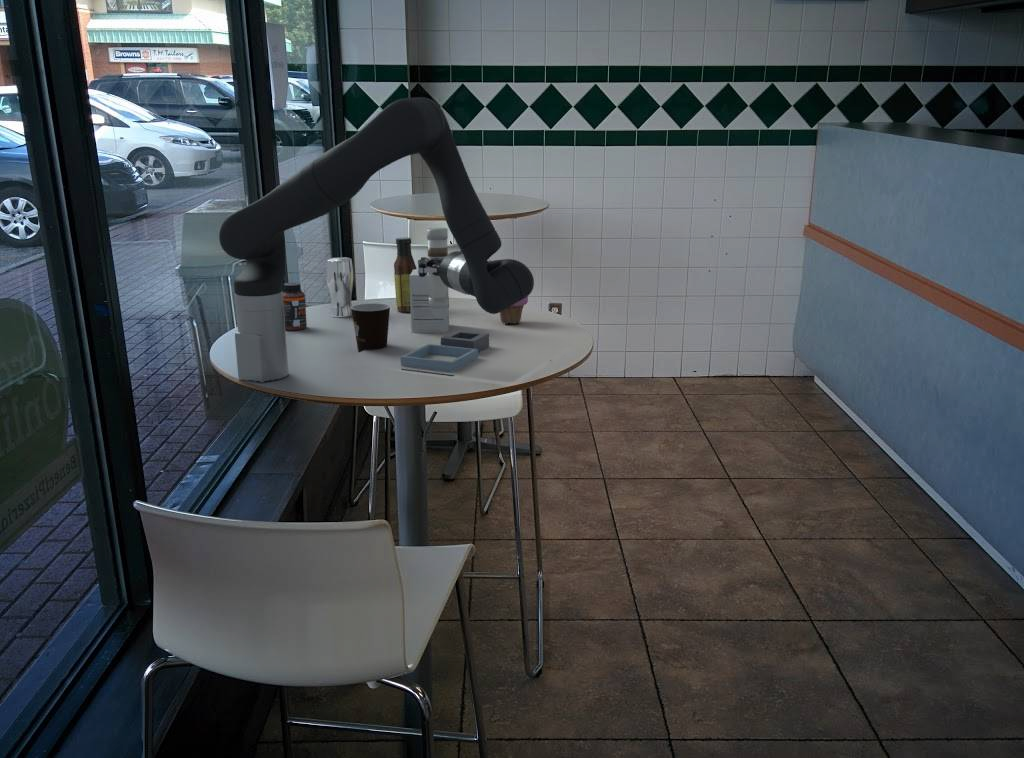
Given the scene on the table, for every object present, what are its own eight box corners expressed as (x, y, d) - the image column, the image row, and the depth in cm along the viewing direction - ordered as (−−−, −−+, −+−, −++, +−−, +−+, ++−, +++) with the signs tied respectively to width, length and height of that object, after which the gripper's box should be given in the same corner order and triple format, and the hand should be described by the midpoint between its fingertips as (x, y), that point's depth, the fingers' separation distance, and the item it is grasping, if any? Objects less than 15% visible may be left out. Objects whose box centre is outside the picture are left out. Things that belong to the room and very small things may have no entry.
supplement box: (414, 328, 223) (412, 268, 219) (449, 328, 223) (448, 268, 219) (410, 336, 214) (408, 274, 210) (447, 336, 214) (446, 274, 210)
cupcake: (526, 319, 233) (527, 281, 230) (528, 327, 224) (528, 287, 222) (492, 320, 232) (492, 282, 230) (493, 327, 224) (493, 288, 221)
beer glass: (329, 312, 241) (326, 257, 237) (355, 312, 241) (353, 257, 237) (327, 318, 234) (324, 261, 230) (354, 317, 235) (351, 261, 231)
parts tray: (452, 376, 181) (452, 362, 180) (401, 370, 185) (400, 356, 185) (478, 362, 191) (477, 349, 191) (428, 356, 196) (428, 343, 195)
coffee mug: (390, 355, 197) (388, 310, 195) (351, 355, 197) (348, 311, 194) (393, 342, 208) (391, 300, 206) (356, 343, 208) (354, 300, 205)
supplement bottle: (303, 331, 220) (300, 285, 216) (279, 331, 220) (276, 285, 217) (309, 325, 225) (306, 281, 222) (286, 325, 225) (283, 281, 222)
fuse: (443, 309, 182) (441, 230, 178) (425, 307, 184) (423, 229, 180) (452, 305, 186) (451, 228, 182) (434, 304, 188) (433, 227, 183)
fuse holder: (478, 359, 193) (478, 341, 192) (436, 354, 197) (435, 337, 196) (494, 351, 201) (493, 334, 199) (452, 346, 205) (452, 329, 203)
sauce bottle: (423, 309, 245) (421, 237, 239) (412, 314, 239) (409, 239, 234) (403, 307, 247) (400, 235, 242) (391, 312, 242) (388, 238, 236)
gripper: (499, 251, 172) (463, 241, 187) (430, 256, 166) (399, 245, 181) (499, 289, 174) (464, 276, 189) (431, 295, 168) (400, 282, 183)
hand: (432, 261), depth 185 cm, fingers closed on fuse, 4 cm apart
